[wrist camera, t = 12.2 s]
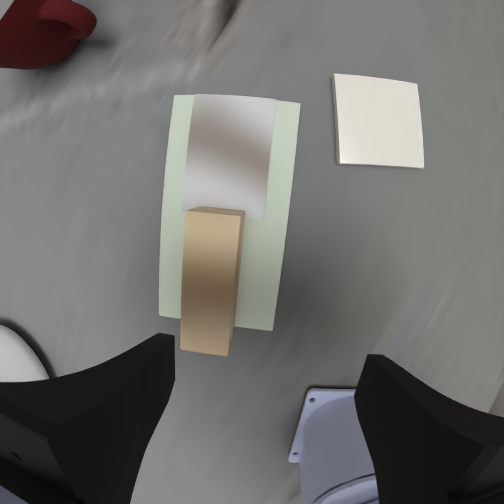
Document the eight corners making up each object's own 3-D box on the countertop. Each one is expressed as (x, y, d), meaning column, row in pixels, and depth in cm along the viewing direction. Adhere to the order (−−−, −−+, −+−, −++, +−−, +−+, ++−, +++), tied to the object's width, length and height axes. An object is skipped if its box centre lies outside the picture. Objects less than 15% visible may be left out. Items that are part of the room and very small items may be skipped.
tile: (423, 168, 18) (417, 84, 16) (340, 163, 18) (334, 73, 17) (415, 168, 19) (409, 88, 18) (335, 164, 19) (330, 80, 18)
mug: (140, -4, 16) (84, -73, 7) (109, 82, 18) (22, 37, 8) (46, 13, 16) (-18, -25, 7) (19, 88, 18) (-61, 70, 8)
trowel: (250, 329, 21) (246, 358, 17) (178, 319, 21) (162, 346, 17) (275, 101, 17) (277, 82, 14) (196, 96, 17) (180, 78, 14)
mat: (272, 325, 21) (272, 330, 21) (162, 310, 22) (159, 315, 21) (299, 106, 18) (300, 103, 17) (178, 98, 18) (174, 94, 17)
